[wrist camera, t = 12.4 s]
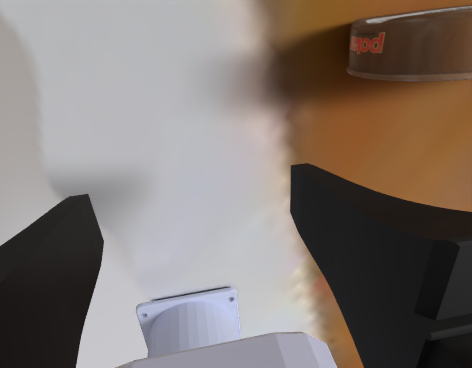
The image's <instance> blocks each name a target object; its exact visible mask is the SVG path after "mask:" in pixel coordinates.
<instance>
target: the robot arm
mask: <svg viewBox="0 0 472 368" xmlns="http://www.w3.org/2000/svg"><path fill="white" fill-rule="evenodd" d="M290 212H291V215H292V218H293V220H294V223H295V225H296V228H297V230H298V232H299V234H300V236H301V238H302V240H303V241H304V243H305V245H306V246H307V248H308V250H309V252H310V253H311V255H312V257H313V258H314V260H315V262H316V263H317V265H318V267H319V268H320V270H321V272H322V273H323V275H324V277H325V278H326V280H327V282H328V284H329V286H330V288H331V290H332V292H333V294H334V296H335V299H336V301H337V303H338V305H339V308H340V310H341V312H342V314H343V317H344V319H345V321H346V324H347V326H348V329H349V331H350V333H351V336H352V338H353V340H354V343H355V346H356V348H357V351H358V353H359V356H360V358H361V361H362V363H363V366H364V368H472V212H467V211H459V210H452V209H446V208H440V207H434V206H430V205H425V204H420V203H415V202H411V201H407V200H403V199H400V198H396V197H393V196H389V195H386V194H383V193H379V192H376V191H374V190H371V189H368V188H366V187H363V186H360V185H358V184H355V183H353V182H350V181H348V180H346V179H343V178H341V177H339V176H337V175H334V174H332V173H330V172H328V171H325V170H323V169H321V168H319V167H316V166H314V165H311V164H308V163H305V164H298V165H291V200H290ZM103 245H104V240H103V237H102V234H101V231H100V228H99V225H98V222H97V219H96V216H95V213H94V210H93V207H92V204H91V201H90V198H89V195H88V194H84V195H77V196H70V197H68V198H66V199H65V200H63V201H62V202H60V203H59V204H57V205H56V206H55V207H53V208H52V209H51V210H49V211H48V212H47V213H45V214H44V215H43V216H41V217H40V218H39V219H37V220H36V221H35V222H34V223H32V224H31V225H30V226H28V227H27V228H26V229H24V230H23V231H21V232H20V233H18V234H17V235H16V236H14V237H13V238H11V239H10V240H8V241H7V242H6V243H4V244H3V245H1V246H0V368H76V363H77V357H78V351H79V345H80V340H81V334H82V330H83V326H84V322H85V319H86V315H87V312H88V309H89V305H90V302H91V298H92V295H93V292H94V288H95V285H96V281H97V278H98V274H99V271H100V267H101V261H102V253H103ZM230 297H232V298H230ZM136 313H137V316H138V319H139V322H140V326H141V329H142V332H143V335H144V338H145V342H146V345H147V348H148V358H144V359H139V360H135V361H132V362H130V363H127V364H124V365H122V366H119V367H117V368H337V366H336V364H335V362H334V359H333V357H332V355H331V353H330V351H329V349H328V346H327V344H326V343H324V342H322V341H320V340H318V339H316V338H314V337H312V336H310V335H308V334H306V333H302V332H281V333H269V334H264V335H259V336H254V337H249V338H244V339H241V335H240V324H239V314H238V303H237V293H236V290H235V289H234V288H232V287H230V288H224V289H218V290H213V291H207V292H202V293H196V294H191V295H185V296H180V297H174V298H169V299H163V300H158V301H152V302H146V303H142V304H139V305H138V306H137V307H136ZM143 313H146V314H143Z"/></svg>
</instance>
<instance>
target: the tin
mask: <svg viewBox="0 0 472 368" xmlns="http://www.w3.org/2000/svg"><path fill="white" fill-rule="evenodd" d="M346 71H347V73H348V74H350V75H353V76H355V77H360V78H367V79H375V80H390V81H408V82H410V81H450V80H468V79H472V5H465V6H455V7H446V8H437V9H429V10H421V11H413V12H406V13H398V14H392V15H384V16H376V17H369V18H363V19H358V20H356V21H354V22H353V24H352V26H351V32H350V45H349V65H348V67H347V69H346Z"/></svg>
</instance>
